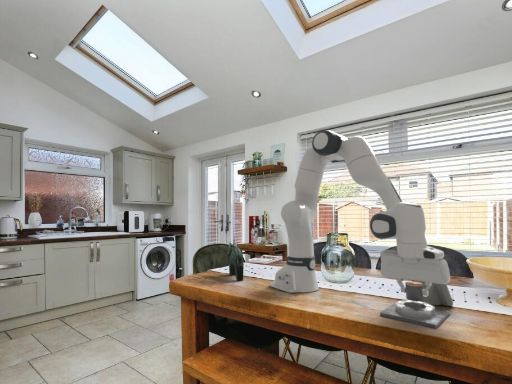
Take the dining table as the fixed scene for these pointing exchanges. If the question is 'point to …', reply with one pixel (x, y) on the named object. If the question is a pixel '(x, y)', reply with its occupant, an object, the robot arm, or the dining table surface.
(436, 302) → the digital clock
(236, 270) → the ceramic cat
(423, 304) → the flat square base plate
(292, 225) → the robot arm
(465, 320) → the dining table surface
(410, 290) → the dark grey cylinder
